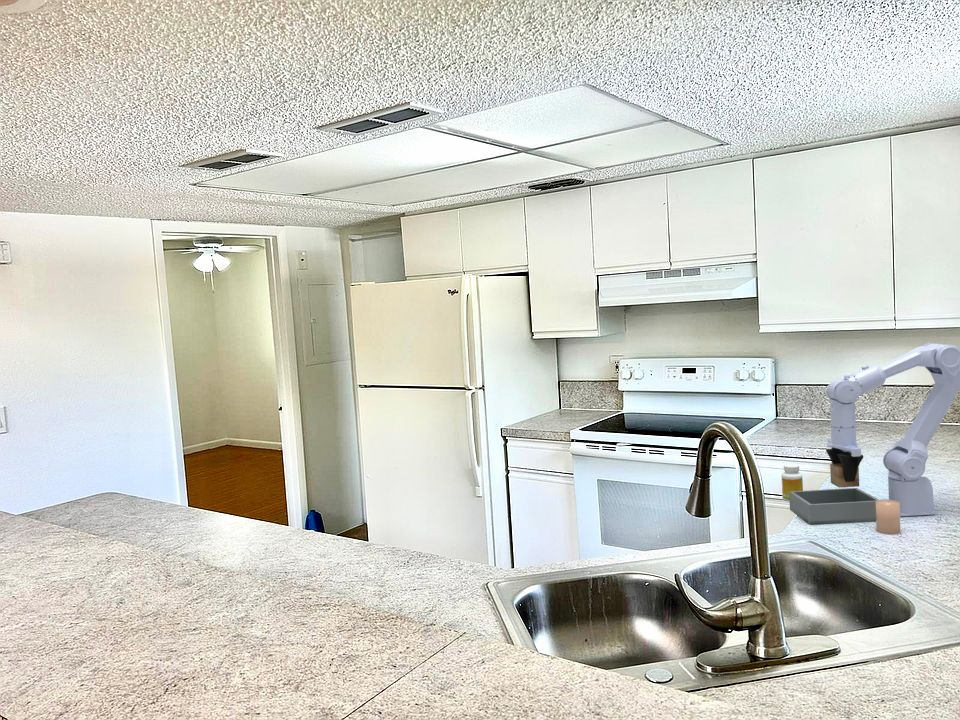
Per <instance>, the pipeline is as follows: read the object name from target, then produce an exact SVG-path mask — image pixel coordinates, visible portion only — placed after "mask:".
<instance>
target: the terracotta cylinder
mask: <svg viewBox="0 0 960 720" xmlns="http://www.w3.org/2000/svg"><path fill="white" fill-rule="evenodd" d="M875 523H876V527H875V528H876V532H878V533H879V534H884V535H898V534H900V533H901V516H900V503H899V502H898V501H895V500H889V498H887V499H885V498H884V499H883V498H882V499H879V500H876V521H875Z"/></svg>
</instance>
